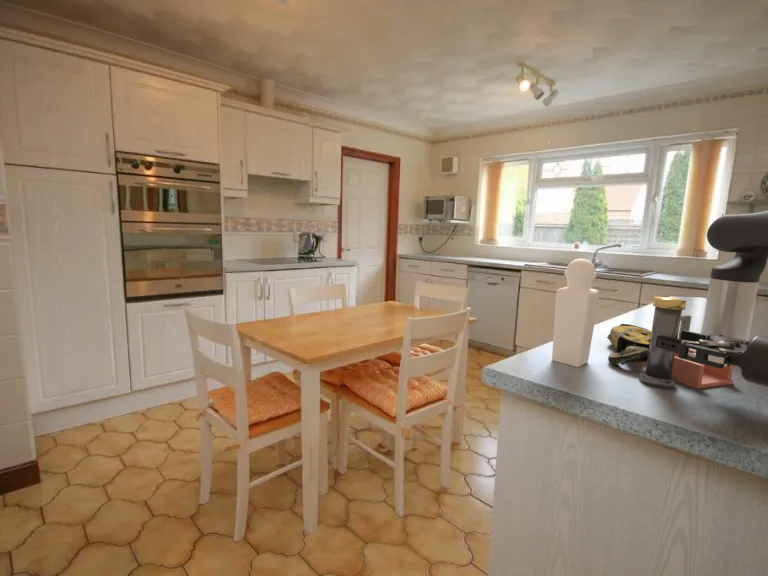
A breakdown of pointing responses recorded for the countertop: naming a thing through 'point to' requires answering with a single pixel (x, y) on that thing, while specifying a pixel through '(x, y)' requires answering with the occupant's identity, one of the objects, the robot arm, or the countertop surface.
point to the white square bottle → (575, 314)
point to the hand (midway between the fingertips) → (669, 338)
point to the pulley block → (629, 344)
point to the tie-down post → (658, 358)
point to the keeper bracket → (698, 368)
